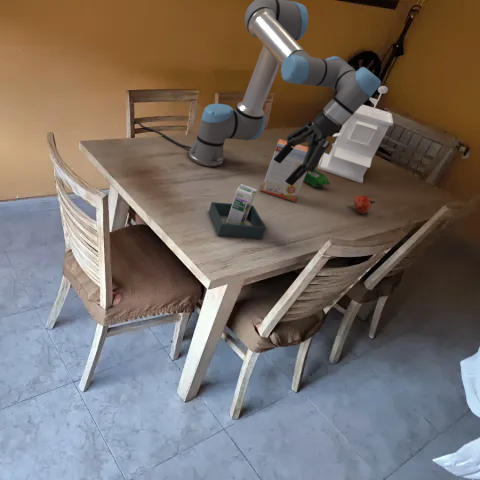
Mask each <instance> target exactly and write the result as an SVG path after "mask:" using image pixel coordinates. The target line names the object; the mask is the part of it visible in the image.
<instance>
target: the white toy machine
mask: <svg viewBox="0 0 480 480" xmlns="http://www.w3.org/2000/svg"><path fill="white" fill-rule="evenodd" d="M388 91H389V88H388V87H387V86H385V85H380V86H379V87H378V88H377V92H378V93H379V95H378V98H377V99H376V98H373V97H372V96H371V97H370V98H368V101H370V102H371V103H372V104H373V107H372V106H369V105H365V104H364V103H363V104H362V105H361V106H360V107H359V108H358V110H357V111H356V112H355V113H354V114H353V115H352V116H351V117H350V118H349V119H348V120H347V121H346V122H345V123H344V124H343V125H341V127H340V129H339V132H336V133H335V134H334V135H333V136H332V138H335V137H336V139H335V141H334V142H333V143H331V146H332V147H331V150H330V151H329V153H327V152H324V153H323V155H322V157H321V159H320V161H319V162H318V164H317V169H318V170H321V171H325V172H328V173H330V174H333V175H336V176H339V177H342V178H344V179H348V180H351V181H354V182H357V183H360V184H363V183H364V175H365V174H366V172H367V170H368V168H369V169H370V168H371V165H372V161H373V158H374V156H375V155H376V152H377V150H378V149H379V147H380V145H381V143H382V141H383V139H384V137H385V135H386V133H387V132H388V129H389V128H390V127H393V125H394V119H393V114H392V113H391V112H389V111H386V110H382V109H379V108H377V107H376V106H377V105H378V102H379V101H380V99H381V96H382V94H387V92H388Z"/></svg>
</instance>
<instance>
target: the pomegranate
mask: <svg viewBox="0 0 480 480" xmlns="http://www.w3.org/2000/svg"><path fill="white" fill-rule="evenodd" d="M353 203H354V205H348V208H352V207H354V208H355V210H356V213H357V214H366V213H368V212H369V211H370V210H371V208H372V204H376V201H373V200H371V199H370V198H369V196H366V195H364V194H360V195H357V196H355V197H354V198H353Z"/></svg>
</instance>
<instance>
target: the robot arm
mask: <svg viewBox="0 0 480 480" xmlns="http://www.w3.org/2000/svg"><path fill="white" fill-rule="evenodd" d="M243 18H244V27H245V28H246V30H247V31H248V33H249V34H250V35H251V36H252V37H253V38H254V39H258V40H259V41H260V42H261V44H263V45H262V48H261V50H260V53H259V56H258V59H257V62H256V64H255V67H254V69H253V71H252V75H251V77H250V79H249V83H248V85H247V88H246V91H245V93H244V96H243V98H242V101H240V102H238V103H237V105H236V107H235V109H234V108H233V107H232V106H231V105H228V104H224V103H211V104H208V105H206V106H205V108H204V110H203V112H202V115H201V118H200V119H201V120H200V124H199V127H198V132H197V136H196V139H195V141H194V142H193V144H192V146H189V145H186V144H182V143H180V142H177V141H176V140H174V139H172V138H171V137H169V136H167V135H166V134H164V133H163V132H160V131H159V130H157V129H153V128H150V127H147V126H145V125H143V124H142V123H141V122H140V121H135V122H133V124H134V125H136V124H138V125H139V126H140V127H141V128H143V129H145V130H147V131H150V132H153V133H156V134H157V135H160V136H161V137H163V138H165V139H167V140H168V141H170V142H172V143H174V144H175V145H177V146H180V147H182V148H186V149H188V150H189V151H188V155H187V156H188V159H190V161H192V162H193V163H195V164H197V165H200V166H202V167H203V166H204V167H207V168H217V167H221V166H222V165H223V163H224V144H225V141H226V139H229V140H243V141H253V140H256V139H258V138H259V137H260V136H261V135H262V134H263V133H264V130H265V128H266V116H265V111H264V109H263V108H264V106H265V103H266V102H267V101H266V100H267V98H268V95H269V93H270V91H271V88H272V87H273V83H274V81H275V78H276V76H277V74H278V71H279V68H280V74H281V78H282V80H283V81H284V82H286V83H289V84H293V85H303V86H304V85H305V86H312V87H313V86H314V87H320V88H329V89H332V90H333V91H334V92H335V93H336V94H335V95H334V96H333V97H332V98H331V100H330V101H329V102H328V103H327V104H326V105H325V106H324V107H323V108H322V109H323V110H322V111H320V112H319V113H318V114H317V115H316V117H315V118H313V120H308V121H307V122H306V123H305V124H304V125H303V126H301V127H299V128H298V129H296V130H294V131H293V132H292V133H290V134H289V135H288V136H287V137H286V141H287V144H286V145H285V146H284V147H283V148H282V150H281V151H280V152H279V153H278V154H277V156H276V157H275V158H274V160H275V161H276V162H278V163H279V164H280V163H281V162H282V161H283V160H284V159H285V158H286V157H287V155H288V154H289V153H290V152H291V151H292V150H293V147H294V148H295V146H296V145H301V144H304V143H306V142H307V144H308V145H307V147H308V151H307V154H306V156H305V159H304V161H303V164H301V165H299V166H298V167H297V169H296V170H295V171H294V172H293V173H292V174H291V175H290V176H289V177H288V178H287V179H286V180H285V182H286V183H288V184H290V185H291V186H292V185H293V184H294V183H295V182H296V181H297V180H298V179H299V178H301V177H302V176H303V175H304V174H305V173H306V172H307V171H310V172H311V173H312V172H313V171H314V170H316V168H317V167H318V165H319V161H320V159H321V157H322V155H323V153H326V150H327V149H328V148H329V147H330V145H331V142H330V141H328V140H327V138H328V137H333V135H334V134H336V133H338V131H340V130H341V126H343V125H344V123H345V122H346V121H347V120H348V119H349V118H350V117H351V116H352V115H353V114H354V113H355V112H356V111H357V110H358V108H359V107H360V106H361V105H362V104H363V105H364V104H365V103H366V102H367V101H368V100H369V99H370V97H371V98H372V96H373V95H374V93H376V91H377V90H378V88H379V87H381V84H382V81H381V80H380V78H379V77H377V76H376V75H375V74H374V73H372V72H371V71H370V70H369V69H368V68H366V66H365V67H364V66H362V67H360V68H359V69H357V70H356V69H355V68H354V67H352V66H351V65H350V64H349V63H348V62H347V61H346V60H345V59H343V58H341V57H339V56H335V55H332V56H330V57H326V58H318V57H313V56H310V54H309V53H308V52H307V51H306V50H305V49H304V48H303V47H302V46H301V44H299V43H298V42H297V41H299V40H301V39H302V38H303V37H304V36H305V34H306V32H307V29H308V27H309V26H308V25H309V12H308V9H307V7H306V5H304V4H303V3H300V2H297V1H294V0H253V1H252V2H251V3H250V4H249V6H248V7H247V9H246V11H245V14H244V17H243ZM280 66H281V67H280ZM306 164H307V165H306Z"/></svg>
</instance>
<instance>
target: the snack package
mask: <svg viewBox="0 0 480 480" xmlns="http://www.w3.org/2000/svg"><path fill="white" fill-rule="evenodd" d="M303 182H305V183H307V184H309V185H310V186H312V187H314V188H318V187H323V186H324V185H329V186H330V185H331V182H330V181H329V179H328V177H327V176H326V175H325V174H323V173H322V172H320V171H318V170H316V169H315V170H314V171H313V172H312V173H311V172H310V171H307V173H306V175H305V178H304V180H303Z"/></svg>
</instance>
